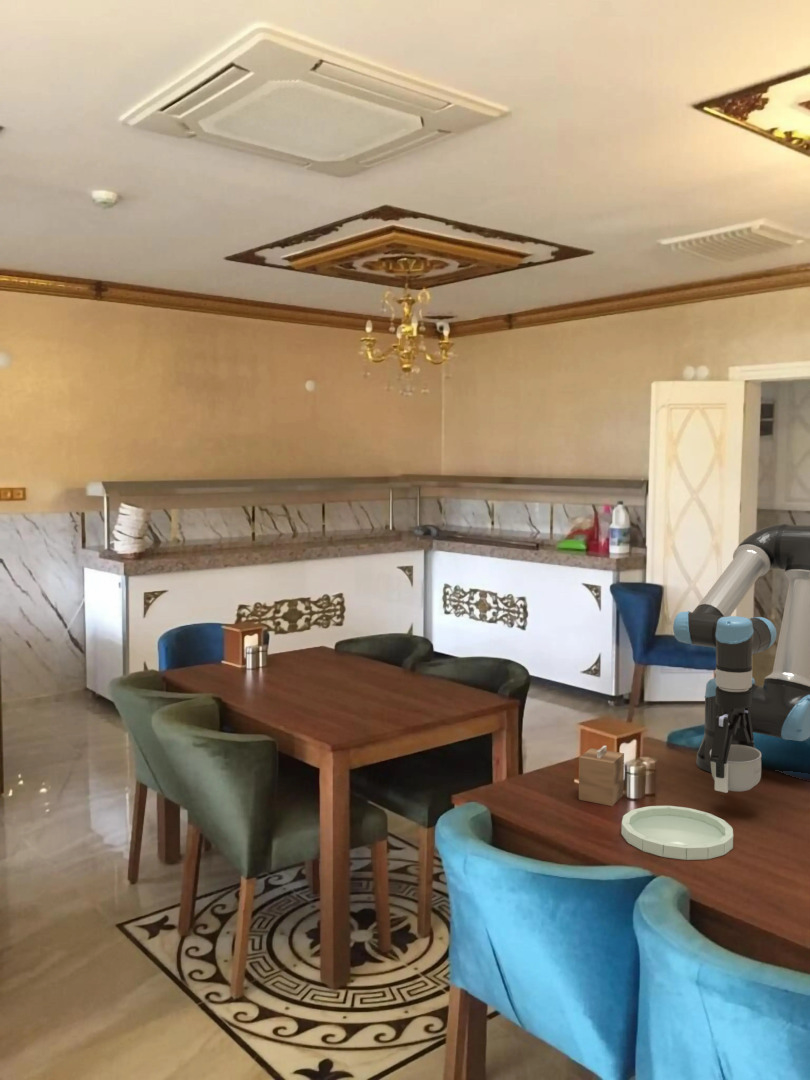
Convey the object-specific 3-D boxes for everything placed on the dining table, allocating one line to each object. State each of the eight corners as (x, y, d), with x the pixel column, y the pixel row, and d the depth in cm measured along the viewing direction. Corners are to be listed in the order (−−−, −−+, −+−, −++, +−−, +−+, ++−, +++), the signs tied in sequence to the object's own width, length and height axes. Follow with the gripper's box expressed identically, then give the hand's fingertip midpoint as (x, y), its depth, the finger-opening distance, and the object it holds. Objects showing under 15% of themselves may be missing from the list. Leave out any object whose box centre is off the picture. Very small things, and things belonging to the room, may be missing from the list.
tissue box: (590, 788, 219) (591, 741, 218) (623, 795, 215) (624, 746, 214) (578, 799, 212) (579, 750, 211) (612, 806, 208) (613, 756, 207)
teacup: (765, 797, 198) (765, 761, 197) (712, 794, 200) (713, 759, 199) (753, 773, 212) (754, 739, 211) (704, 771, 214) (704, 738, 213)
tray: (651, 808, 207) (651, 798, 206) (749, 834, 192) (749, 823, 192) (602, 839, 190) (603, 827, 190) (706, 869, 176) (706, 857, 176)
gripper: (737, 673, 214) (736, 763, 217) (694, 697, 196) (693, 795, 199) (770, 678, 209) (768, 770, 212) (729, 702, 191) (727, 803, 194)
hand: (732, 782), depth 205 cm, fingers closed on teacup, 11 cm apart
